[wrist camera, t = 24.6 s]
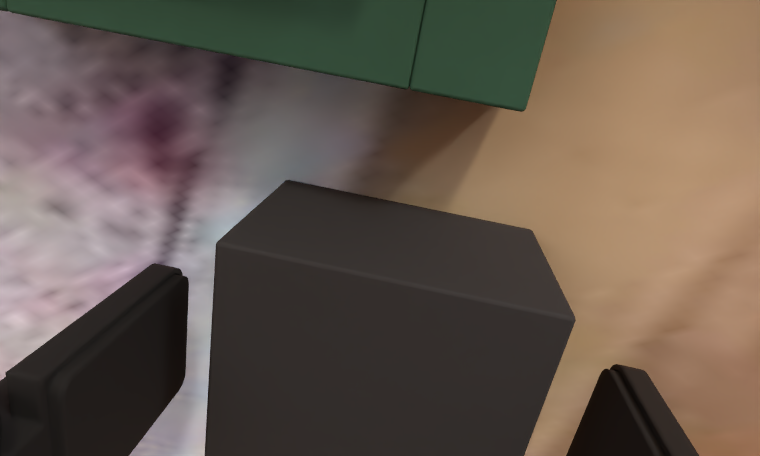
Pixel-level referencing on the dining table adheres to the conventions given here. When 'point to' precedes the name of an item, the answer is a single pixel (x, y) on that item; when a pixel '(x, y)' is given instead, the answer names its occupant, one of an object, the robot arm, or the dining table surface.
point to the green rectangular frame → (345, 37)
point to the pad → (378, 331)
